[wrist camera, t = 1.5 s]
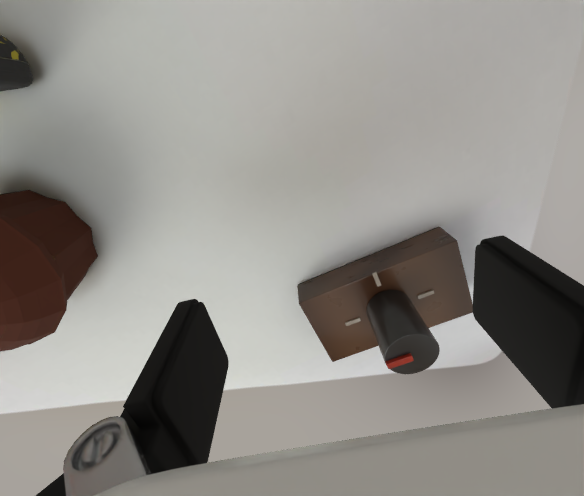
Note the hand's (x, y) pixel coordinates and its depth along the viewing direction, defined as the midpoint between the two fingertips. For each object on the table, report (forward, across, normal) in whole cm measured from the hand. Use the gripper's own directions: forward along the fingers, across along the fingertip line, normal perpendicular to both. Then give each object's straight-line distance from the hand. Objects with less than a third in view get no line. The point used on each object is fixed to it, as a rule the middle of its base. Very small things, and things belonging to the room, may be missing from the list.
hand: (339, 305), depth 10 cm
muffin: (+16, +24, -1) cm, 29 cm away
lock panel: (+16, -5, +12) cm, 21 cm away
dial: (+13, -5, +12) cm, 18 cm away
